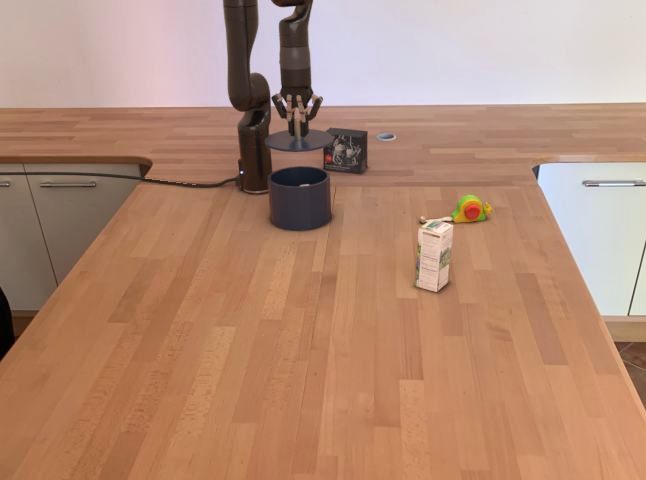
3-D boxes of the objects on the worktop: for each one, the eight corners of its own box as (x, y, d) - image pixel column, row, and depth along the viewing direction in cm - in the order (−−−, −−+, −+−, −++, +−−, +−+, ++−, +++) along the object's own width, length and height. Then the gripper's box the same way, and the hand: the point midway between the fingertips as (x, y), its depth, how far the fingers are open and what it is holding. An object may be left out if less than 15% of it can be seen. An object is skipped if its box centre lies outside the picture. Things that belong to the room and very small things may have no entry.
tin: (261, 227, 191) (257, 184, 184) (285, 204, 204) (282, 163, 198) (318, 233, 186) (316, 190, 180) (339, 210, 199) (338, 168, 193)
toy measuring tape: (494, 222, 189) (496, 199, 185) (422, 227, 188) (423, 203, 184) (488, 213, 194) (490, 190, 191) (417, 217, 193) (418, 194, 190)
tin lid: (253, 151, 178) (251, 126, 175) (281, 131, 192) (279, 107, 189) (319, 157, 173) (318, 131, 170) (342, 136, 187) (342, 112, 183)
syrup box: (426, 276, 164) (429, 218, 156) (449, 283, 161) (453, 223, 153) (414, 286, 160) (417, 227, 152) (437, 293, 157) (441, 233, 149)
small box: (322, 170, 228) (321, 133, 222) (330, 163, 233) (329, 127, 227) (361, 174, 224) (360, 136, 217) (368, 167, 229) (368, 130, 222)
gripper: (327, 62, 173) (329, 133, 182) (275, 60, 177) (279, 129, 186) (316, 69, 167) (319, 142, 176) (262, 66, 171) (268, 137, 180)
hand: (298, 135), depth 181 cm, fingers closed on tin lid, 2 cm apart
